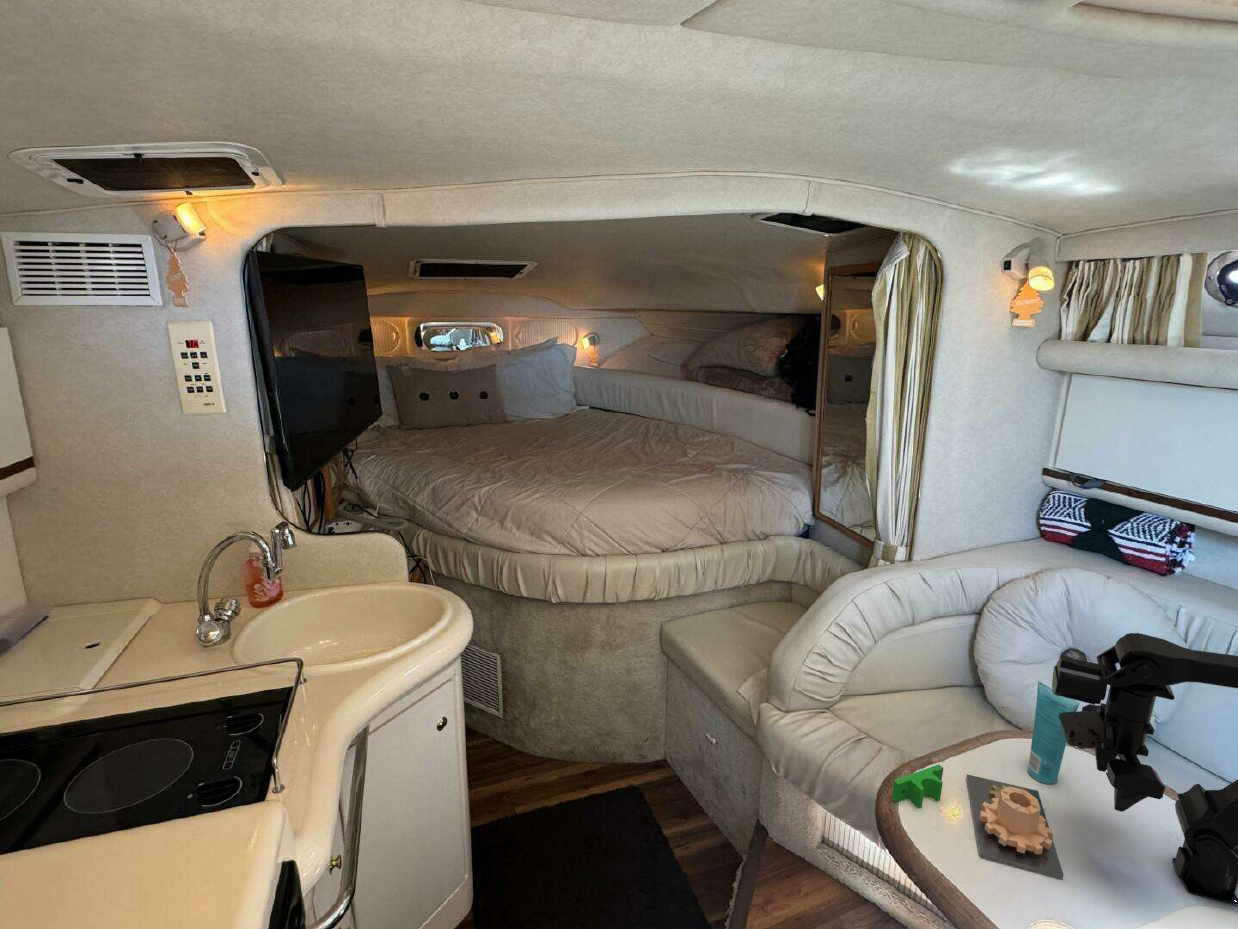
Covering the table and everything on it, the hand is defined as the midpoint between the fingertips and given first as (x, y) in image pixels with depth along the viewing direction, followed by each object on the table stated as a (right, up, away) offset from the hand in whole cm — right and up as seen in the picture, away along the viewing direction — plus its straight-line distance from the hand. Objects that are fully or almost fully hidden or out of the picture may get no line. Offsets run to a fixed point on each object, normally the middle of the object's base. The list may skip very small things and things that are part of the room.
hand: (1109, 789), depth 105 cm
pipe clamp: (-25, -9, +15) cm, 30 cm away
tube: (+2, -7, +19) cm, 21 cm away
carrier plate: (-12, -10, +8) cm, 18 cm away
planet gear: (-13, -9, +5) cm, 16 cm away
